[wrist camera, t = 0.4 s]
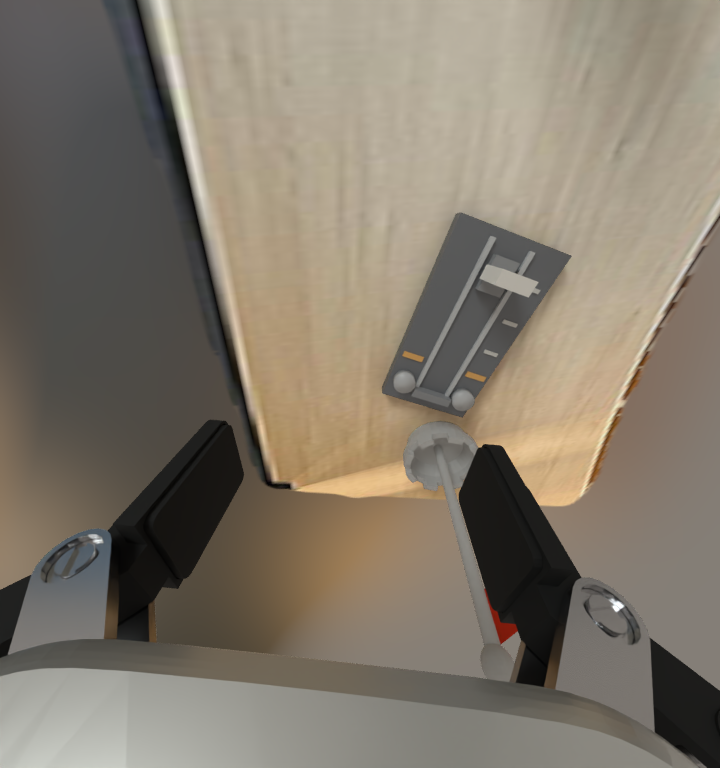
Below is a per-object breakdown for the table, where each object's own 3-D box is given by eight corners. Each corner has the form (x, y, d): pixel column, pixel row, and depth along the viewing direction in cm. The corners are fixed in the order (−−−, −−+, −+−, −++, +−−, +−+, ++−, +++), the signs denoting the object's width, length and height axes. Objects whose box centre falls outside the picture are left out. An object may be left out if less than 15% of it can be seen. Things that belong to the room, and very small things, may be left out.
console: (456, 213, 29) (464, 211, 26) (560, 254, 31) (580, 256, 28) (382, 386, 42) (382, 398, 39) (459, 410, 43) (465, 423, 40)
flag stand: (405, 470, 52) (432, 703, 26) (397, 421, 46) (422, 665, 20) (472, 464, 50) (572, 710, 24) (473, 412, 43) (611, 671, 18)
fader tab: (489, 252, 29) (510, 256, 25) (519, 264, 30) (546, 269, 25) (471, 287, 31) (487, 296, 27) (500, 297, 32) (521, 308, 27)
